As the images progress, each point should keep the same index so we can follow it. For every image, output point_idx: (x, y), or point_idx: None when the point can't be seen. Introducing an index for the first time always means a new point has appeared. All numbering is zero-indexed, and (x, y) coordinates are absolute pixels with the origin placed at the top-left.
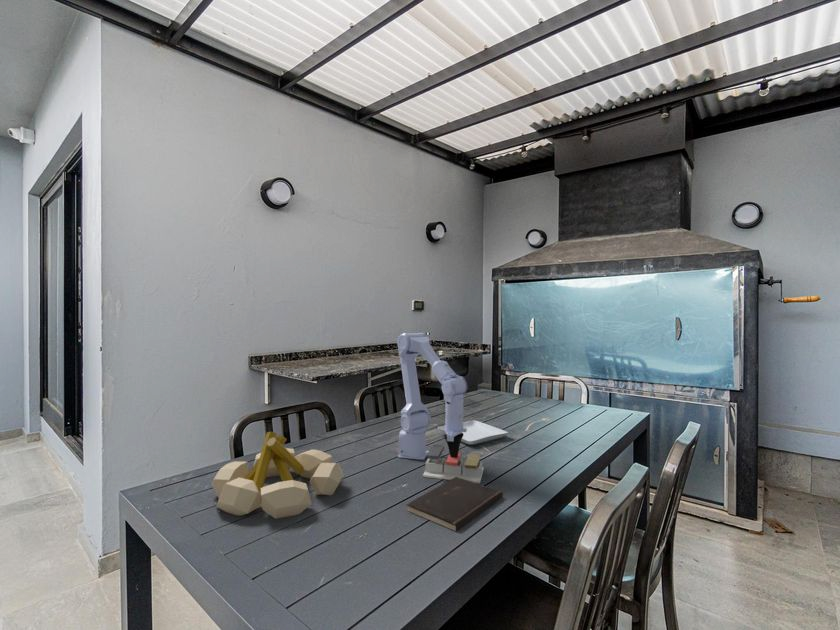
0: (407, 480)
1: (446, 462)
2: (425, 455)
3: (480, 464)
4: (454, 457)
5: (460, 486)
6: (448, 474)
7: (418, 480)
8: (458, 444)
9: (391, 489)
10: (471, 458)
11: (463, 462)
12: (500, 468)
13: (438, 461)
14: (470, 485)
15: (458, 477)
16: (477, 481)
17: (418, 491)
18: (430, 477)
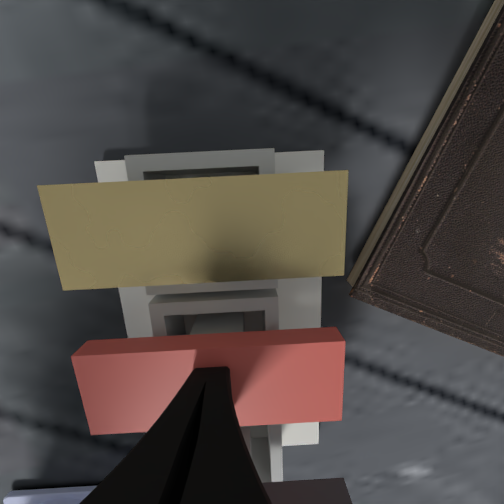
0: (367, 474)
1: (339, 409)
2: (73, 494)
3: (183, 162)
4: (233, 382)
5: (487, 244)
6: None
7: (357, 439)
8: (266, 500)
9: (461, 497)
10: (175, 247)
11: (168, 298)
12: (28, 40)
13: (250, 444)
14: (466, 188)
15: (304, 283)
16: (322, 167)
17: (467, 410)
18: None
